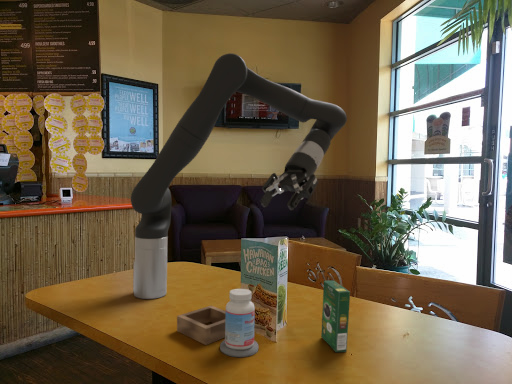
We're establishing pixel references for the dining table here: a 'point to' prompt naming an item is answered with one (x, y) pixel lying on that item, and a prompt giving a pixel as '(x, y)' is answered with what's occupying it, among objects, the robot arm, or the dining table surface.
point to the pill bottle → (239, 320)
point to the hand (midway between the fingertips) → (275, 206)
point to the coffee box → (335, 315)
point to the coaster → (239, 353)
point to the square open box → (195, 321)
